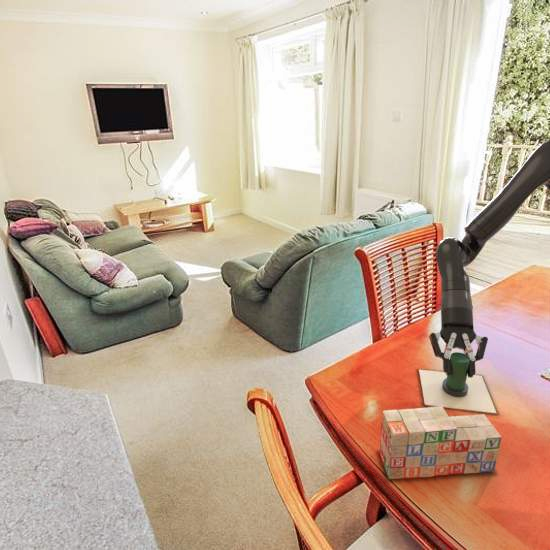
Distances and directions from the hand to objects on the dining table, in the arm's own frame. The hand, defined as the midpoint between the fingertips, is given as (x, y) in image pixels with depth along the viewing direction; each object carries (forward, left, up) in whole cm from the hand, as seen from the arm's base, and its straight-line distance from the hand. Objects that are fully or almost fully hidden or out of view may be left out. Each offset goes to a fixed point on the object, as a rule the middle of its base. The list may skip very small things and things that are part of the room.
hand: (459, 375), depth 93 cm
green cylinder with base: (0, -2, -6) cm, 6 cm away
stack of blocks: (+8, +22, -6) cm, 24 cm away
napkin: (0, -2, -6) cm, 6 cm away
